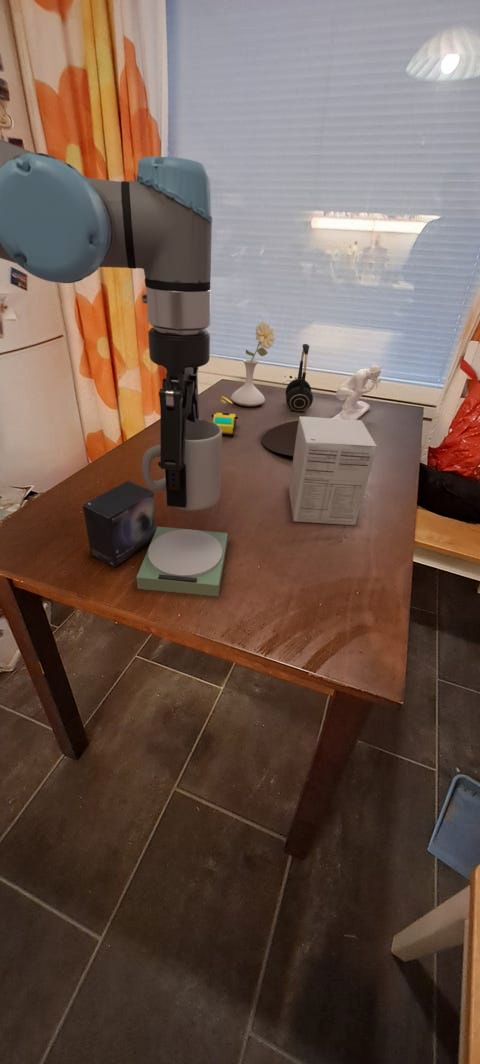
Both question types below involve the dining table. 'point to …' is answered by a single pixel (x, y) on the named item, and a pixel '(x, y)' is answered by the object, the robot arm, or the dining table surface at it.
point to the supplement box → (330, 470)
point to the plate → (281, 438)
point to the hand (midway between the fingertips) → (183, 488)
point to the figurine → (356, 393)
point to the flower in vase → (248, 391)
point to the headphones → (300, 388)
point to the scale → (184, 562)
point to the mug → (194, 465)
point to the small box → (120, 522)
